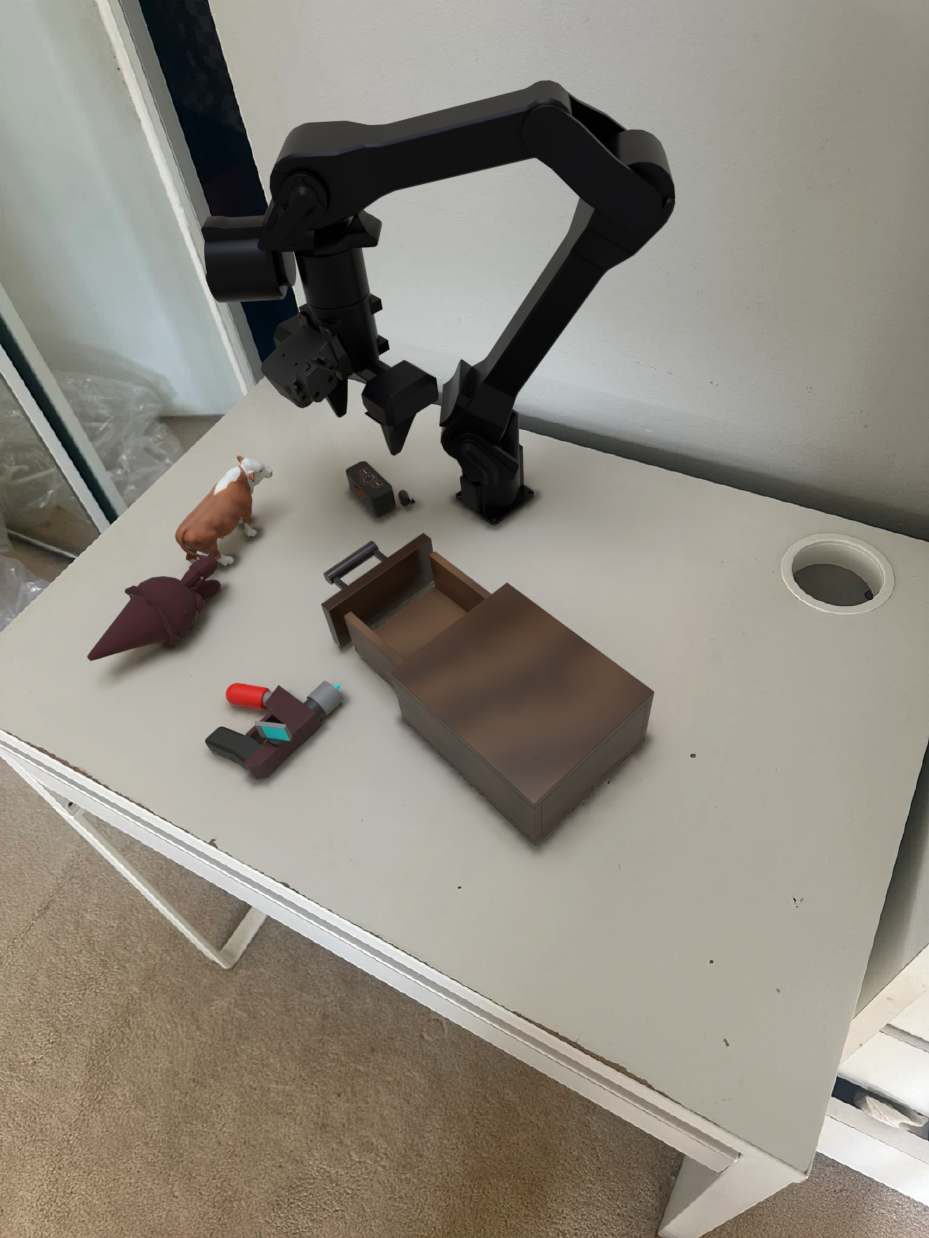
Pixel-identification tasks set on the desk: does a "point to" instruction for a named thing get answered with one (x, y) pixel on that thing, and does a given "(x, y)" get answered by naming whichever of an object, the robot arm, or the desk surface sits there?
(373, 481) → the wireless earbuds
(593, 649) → the cabinet
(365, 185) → the robot arm
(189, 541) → the bull figurine
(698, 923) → the desk surface
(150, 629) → the icecream
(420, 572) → the drawer
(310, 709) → the toy gun
